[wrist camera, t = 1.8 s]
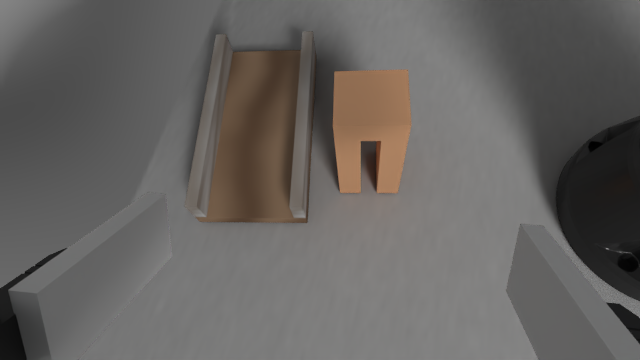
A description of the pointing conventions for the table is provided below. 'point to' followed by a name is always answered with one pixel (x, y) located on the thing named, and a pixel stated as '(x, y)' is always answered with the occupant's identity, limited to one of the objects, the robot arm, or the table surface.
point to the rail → (255, 136)
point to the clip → (371, 125)
